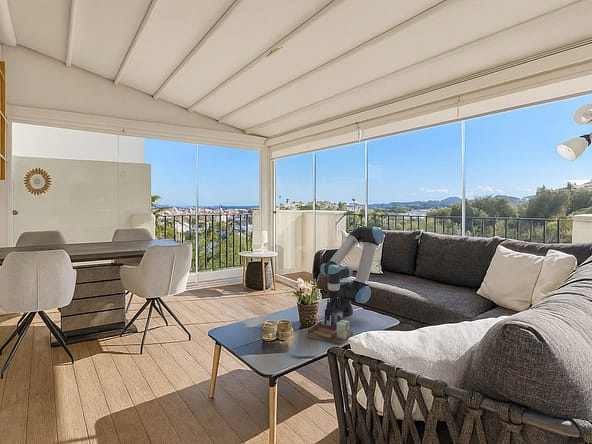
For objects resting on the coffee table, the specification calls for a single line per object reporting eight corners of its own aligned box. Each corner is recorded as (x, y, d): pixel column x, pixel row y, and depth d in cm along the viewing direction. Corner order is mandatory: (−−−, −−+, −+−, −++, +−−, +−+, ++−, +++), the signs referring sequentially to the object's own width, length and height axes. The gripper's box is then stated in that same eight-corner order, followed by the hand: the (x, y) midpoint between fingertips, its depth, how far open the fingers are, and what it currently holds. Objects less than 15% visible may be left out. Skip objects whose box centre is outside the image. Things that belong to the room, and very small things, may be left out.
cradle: (320, 327, 227) (320, 312, 226) (353, 334, 215) (353, 318, 215) (306, 337, 211) (306, 321, 211) (341, 344, 200) (341, 327, 199)
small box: (328, 328, 225) (328, 312, 224) (324, 325, 231) (324, 309, 230) (343, 326, 229) (343, 310, 228) (338, 323, 235) (338, 307, 234)
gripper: (336, 285, 241) (335, 316, 242) (319, 292, 219) (319, 326, 220) (346, 286, 237) (346, 317, 238) (330, 294, 215) (330, 329, 216)
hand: (333, 322), depth 229 cm, fingers open, 13 cm apart
